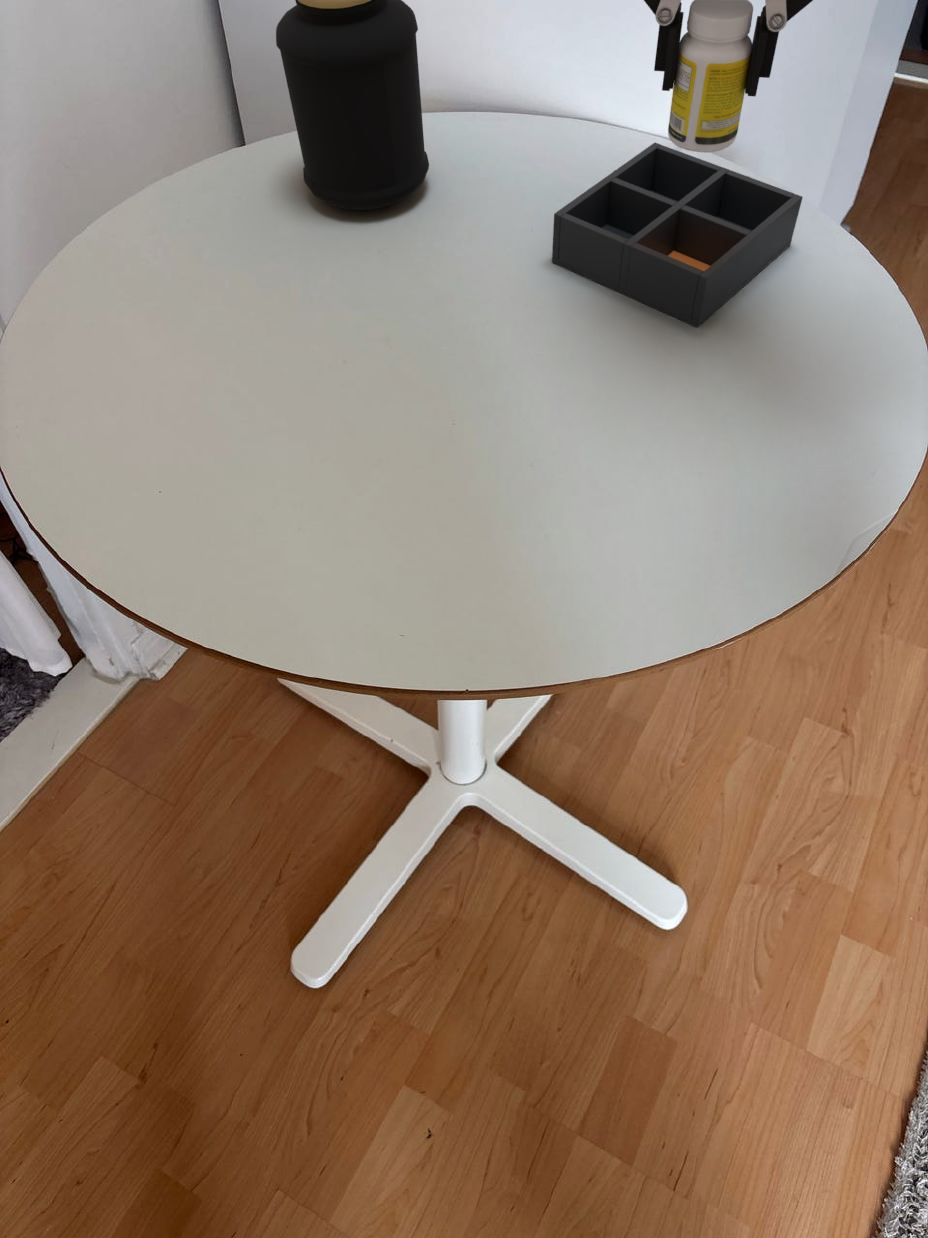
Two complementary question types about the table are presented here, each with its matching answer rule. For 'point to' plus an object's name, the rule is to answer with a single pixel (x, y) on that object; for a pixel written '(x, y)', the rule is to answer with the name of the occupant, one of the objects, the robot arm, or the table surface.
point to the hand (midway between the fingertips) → (709, 81)
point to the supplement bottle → (711, 75)
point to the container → (355, 99)
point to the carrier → (675, 232)
